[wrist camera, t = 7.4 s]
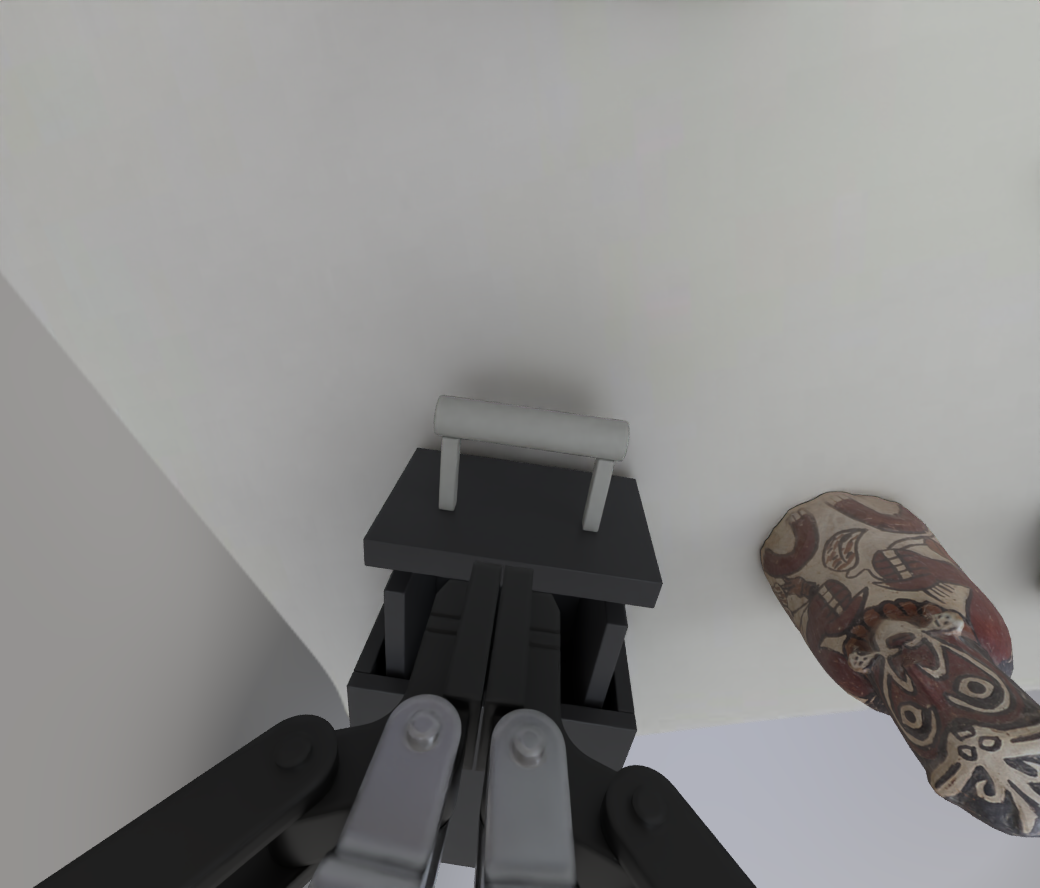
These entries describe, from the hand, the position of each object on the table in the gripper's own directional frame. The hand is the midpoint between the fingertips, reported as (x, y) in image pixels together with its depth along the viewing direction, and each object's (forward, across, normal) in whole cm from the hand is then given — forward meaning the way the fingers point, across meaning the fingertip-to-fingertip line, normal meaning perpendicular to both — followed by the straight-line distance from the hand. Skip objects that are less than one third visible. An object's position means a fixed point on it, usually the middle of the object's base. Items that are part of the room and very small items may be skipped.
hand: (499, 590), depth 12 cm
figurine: (+11, -16, +5) cm, 20 cm away
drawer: (+10, 0, +6) cm, 12 cm away
